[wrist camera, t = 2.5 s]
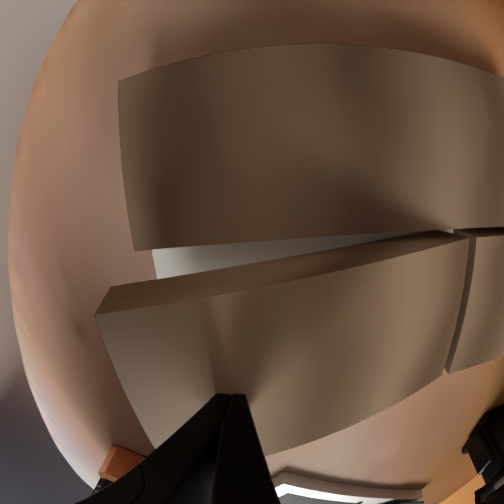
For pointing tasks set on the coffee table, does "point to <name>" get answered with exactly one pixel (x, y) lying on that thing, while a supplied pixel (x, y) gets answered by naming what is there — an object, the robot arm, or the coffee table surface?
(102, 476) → the whiskey bottle
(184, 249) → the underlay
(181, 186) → the laid planks
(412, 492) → the picture frame
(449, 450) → the coffee table surface
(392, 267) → the loose plank
